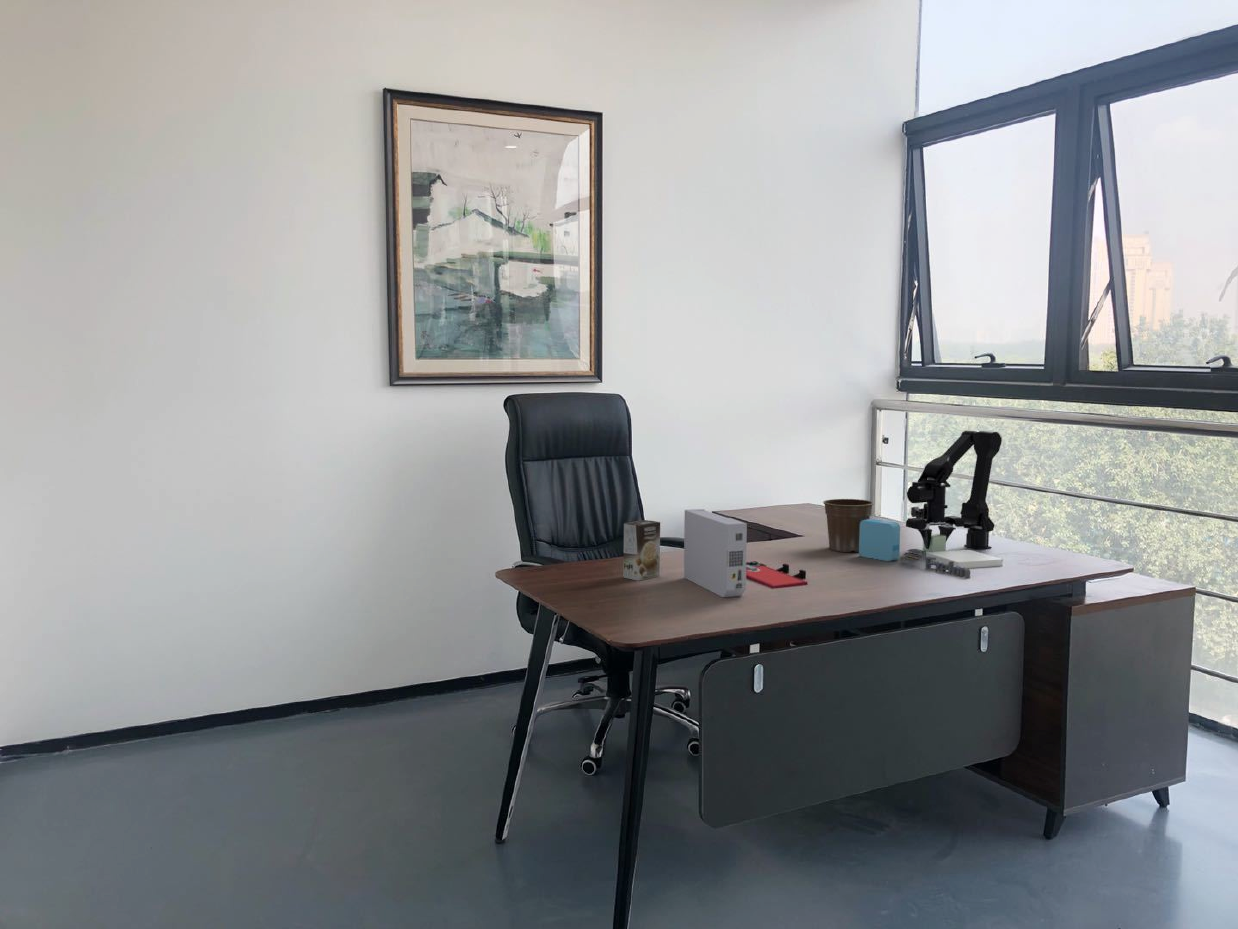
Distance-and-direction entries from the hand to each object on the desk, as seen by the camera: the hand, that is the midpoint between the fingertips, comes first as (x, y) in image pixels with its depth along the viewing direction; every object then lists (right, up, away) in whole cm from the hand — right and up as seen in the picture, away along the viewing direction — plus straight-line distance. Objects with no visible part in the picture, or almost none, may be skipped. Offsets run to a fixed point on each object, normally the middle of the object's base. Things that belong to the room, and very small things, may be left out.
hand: (934, 548), depth 303 cm
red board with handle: (-60, -6, -32) cm, 69 cm away
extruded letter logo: (-9, -5, -25) cm, 27 cm away
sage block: (0, -2, 0) cm, 2 cm away
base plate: (+4, -3, -14) cm, 15 cm away
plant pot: (-27, -1, +7) cm, 28 cm away
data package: (-20, -3, -8) cm, 22 cm away
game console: (-77, -7, -48) cm, 91 cm away
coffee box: (-97, -5, -35) cm, 103 cm away
